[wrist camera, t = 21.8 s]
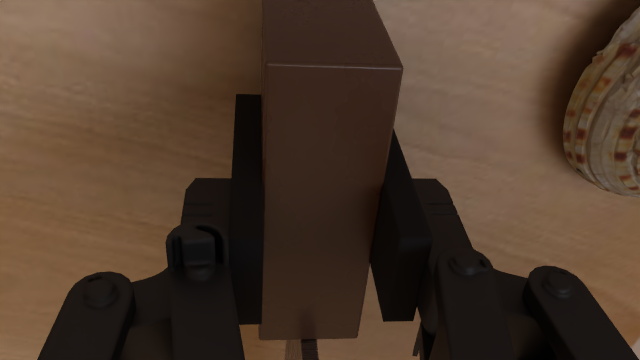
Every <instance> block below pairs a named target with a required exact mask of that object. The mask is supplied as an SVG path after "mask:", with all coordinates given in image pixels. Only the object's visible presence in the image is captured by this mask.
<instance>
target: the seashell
mask: <svg viewBox="0 0 640 360" xmlns="http://www.w3.org/2000/svg"><path fill="white" fill-rule="evenodd" d="M601 53H602V55H601ZM563 145H564V150H565V154H566V157H567V159H568V161H569V163H570V164H571V165H572V166H573V168H574V169H575V170H576V172H577V173H579V174H580V175H581V176H582V177H583V178H585V179H586V180H587V181H589V182H590V183H592V184H594V185H596V186H597V187H598V188H600V189H603V190H606V191H609V192H611V193H614V194H619V195H623V196H631V197H638V198H640V7H639V8H638V9H637V10H635V11H634V12H633V13H632V15H631V16H630V17H629V19H628V20H626V21H625V22H624V23H623V24H622V25H621V26H620V27H619V28H618V30H617V31H616V32H615V34H614V35H613V37H612V40H611V42H610V43H609V44H608V45H607V46H606V47H605V48H604V50H601V51H599V52H597V56H595V57H593V58H592V63H591V64H590V65H588V66H587V67H586V69H585V70H584V72H583V73H582V75H581V77H580V79H579V81H578V83H577V85H576V86H575V88H574V91H573V93H572V96H571V98H570V101H569V104H568V106H567V110H566V114H565V119H564V127H563Z"/></svg>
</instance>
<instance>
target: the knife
mask: <svg viewBox="0 0 640 360" xmlns="http://www.w3.org/2000/svg"><path fill="white" fill-rule="evenodd" d="M402 74H403V65H402V63H401V61H400V59H399V57H398V54H397V52H396V50H395V48H394V46H393V44H392V42H391V39H390V37H389V35H388V33H387V31H386V29H385V26H384V24H383V22H382V20H381V18H380V16H379V14H378V11H377V9H376V7H375V5H374V3H373V1H372V0H262V46H261V147H262V182H263V222H264V253H263V296H262V324H259V339H260V340H286V351H285V360H319V357H318V347H317V339H343V338H357V336H358V331H359V326H360V320H361V314H362V308H363V302H364V296H365V290H366V285H367V279H368V273H369V267H370V260H371V254H372V248H373V243H374V237H375V231H376V225H377V219H378V213H379V207H380V201H381V196H382V190H383V184H384V179H385V173H386V167H387V161H388V156H389V150H390V144H391V138H392V132H393V126H394V120H395V115H396V109H397V103H398V97H399V91H400V85H401V79H402Z"/></svg>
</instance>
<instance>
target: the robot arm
mask: <svg viewBox="0 0 640 360" xmlns="http://www.w3.org/2000/svg"><path fill="white" fill-rule="evenodd" d="M166 253H167V262H168V267H167V268H166V269H165V270H164V271H162V272H161V273H159V274H157V275H155V276H152V277H149V278H147V279H143V280H139V281H135V282H130V280H129V279H128V278H127V277H125V276H124V275H122V274H120V273H115V272H98V273H94V274H92V275H89V276H86V277H84V278H83V279H81V280H80V281H78V282H77V283H75V284H74V286H73V287H72V288H71V290H70V291H69V292H68V295H67V297H66V299H65V301H64V303H63V305H62V307H61V310H60V312H59V314H58V316H57V318H56V320H55V322H54V325H53V327H52V329H51V331H50V333H49V335H48V337H47V340H46V342H45V344H44V346H43V348H42V350H41V352H40V355H39V357H38V359H37V360H245V357H244V351H243V345H242V339H241V333H240V327H239V325H245V324H262V296H263V253H264V222H263V182H262V147H261V95H249V94H236V106H235V124H234V142H233V160H232V178H195V179H194V181H193V182H192V183H191V184H190V185H189V187H188V188H187V189H186V192H185V198H184V206H183V211H182V218H181V224H180V225H179V226H178V227H176V228H174V229H173V230H172V231H171V232H170V233H169V235H168V236H167V240H166ZM370 264H371V268H372V273H373V277H374V282H375V286H376V291H377V295H378V300H379V304H380V309H381V313H382V318H383V322H388V321H413V320H414V316H415V312H416V308H417V307H418V311H419V314H420V318H421V323H420V327H419V331H418V334H417V338H416V342H415V346H414V350H413V356H417V355H418V351H419V355H420V360H639V359H638V358H637V356H636V355H635V353H634V352H633V351H632V349H631V348H630V346H629V345H628V344H627V342H626V341H625V340H624V338H623V337H622V335H621V334H620V333H619V331H618V330H617V329H616V327H615V326H614V324H613V323H612V322H611V320H610V319H609V318H608V316H607V315H606V313H605V312H604V311H603V309H602V308H601V307H600V305H599V304H598V302H597V301H596V300H595V298H594V297H593V296H592V294H591V293H590V291H589V290H588V289H587V287H586V286H585V285H584V283H583V282H582V281H581V280H580V279H579V278H578V277H577V276H575V275H574V274H572V273H570V272H568V271H567V270H564V269H561V268H558V267H555V266H541V267H537V268H535V269H534V270H533V271H532V272H530V274H529V276H528V278H525V277H521V276H516V275H512V274H508V273H504V272H501V271H498V270H496V269H494V268H493V266H492V265H491V263H490V261H489V260H488V259H487V258H486V257H485V256H484V255H483V254H482V253H480V252H478V251H476V250H474V249H473V247H472V245H471V243H470V240H469V238H468V236H467V234H466V231H465V229H464V227H463V224H462V222H461V220H460V217H459V215H457V210H456V208H455V206H454V205H453V201H452V199H451V197H450V194H449V192H448V190H447V189H446V188H445V187H444V186H443V185H442V184H441V183H440V182H439V181H437V180H436V179H412V178H411V175H410V172H409V170H408V167H407V164H406V161H405V158H404V156H403V153H402V150H401V147H400V145H399V142H398V139H397V136H396V134H395V131H394V128H393V132H392V138H391V144H390V150H389V156H388V161H387V167H386V173H385V179H384V184H383V190H382V196H381V201H380V207H379V213H378V219H377V225H376V231H375V237H374V243H373V248H372V254H371V260H370Z"/></svg>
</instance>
